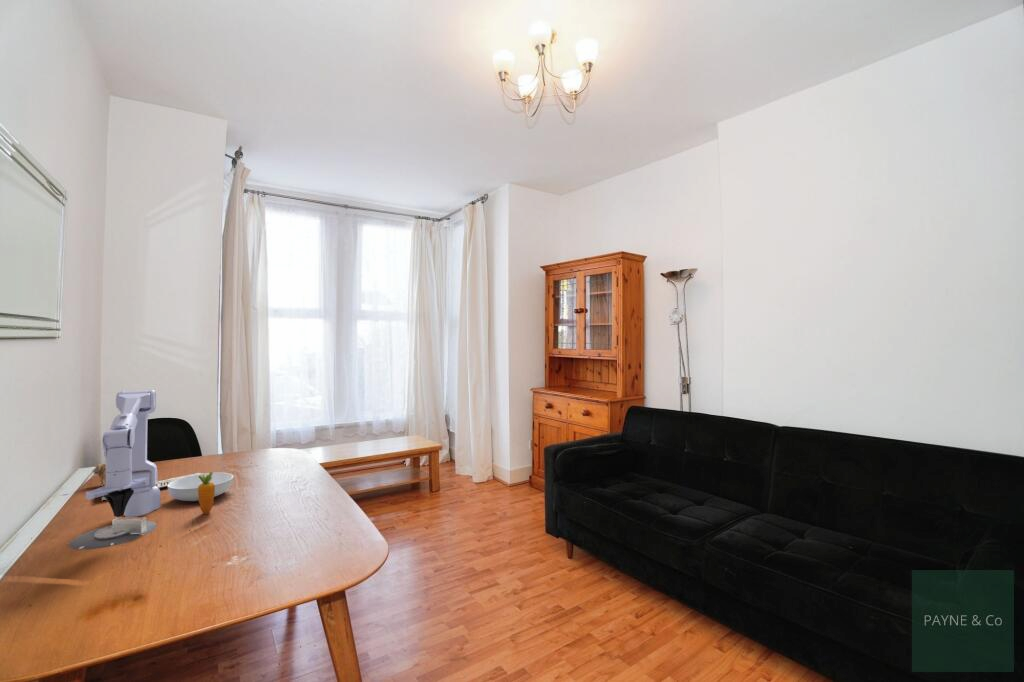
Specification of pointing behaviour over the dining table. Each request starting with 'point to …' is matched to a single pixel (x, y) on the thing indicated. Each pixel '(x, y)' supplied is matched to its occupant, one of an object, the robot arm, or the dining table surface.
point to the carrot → (206, 493)
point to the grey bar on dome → (121, 528)
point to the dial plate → (89, 540)
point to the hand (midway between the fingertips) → (118, 515)
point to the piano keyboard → (164, 482)
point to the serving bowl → (189, 485)
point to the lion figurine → (101, 472)
